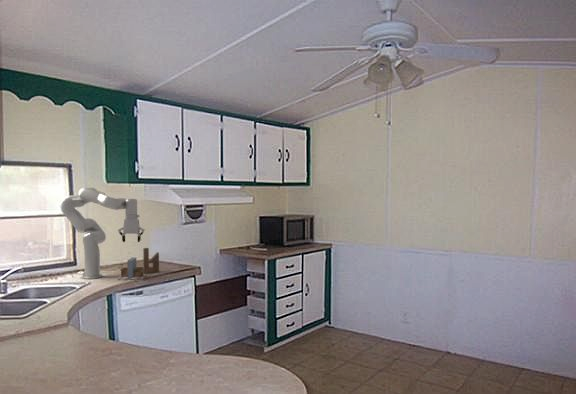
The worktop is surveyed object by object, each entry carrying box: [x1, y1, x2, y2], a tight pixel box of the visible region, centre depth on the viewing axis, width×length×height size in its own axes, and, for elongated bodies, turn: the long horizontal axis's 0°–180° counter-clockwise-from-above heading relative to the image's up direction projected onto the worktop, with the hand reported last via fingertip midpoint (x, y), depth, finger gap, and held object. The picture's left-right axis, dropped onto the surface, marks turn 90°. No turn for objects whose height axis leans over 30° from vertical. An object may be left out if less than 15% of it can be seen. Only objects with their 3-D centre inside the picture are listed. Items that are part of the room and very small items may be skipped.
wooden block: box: [142, 247, 160, 274], centre depth 301 cm, size 4×11×18 cm, turn 126°
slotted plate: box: [127, 257, 137, 278], centre depth 283 cm, size 3×11×12 cm, turn 6°
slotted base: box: [117, 266, 147, 281], centre depth 283 cm, size 16×11×7 cm
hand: (131, 241), depth 283 cm, fingers open, 9 cm apart
